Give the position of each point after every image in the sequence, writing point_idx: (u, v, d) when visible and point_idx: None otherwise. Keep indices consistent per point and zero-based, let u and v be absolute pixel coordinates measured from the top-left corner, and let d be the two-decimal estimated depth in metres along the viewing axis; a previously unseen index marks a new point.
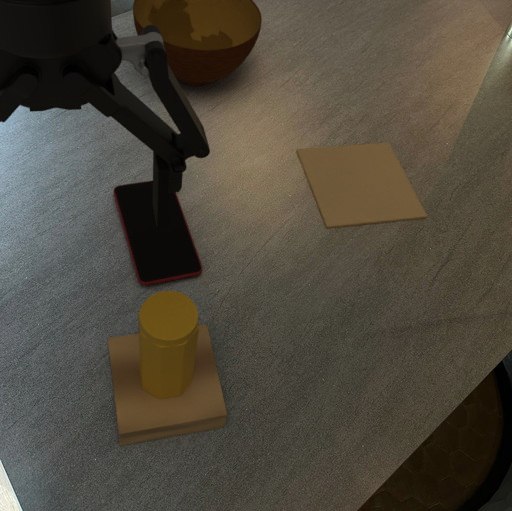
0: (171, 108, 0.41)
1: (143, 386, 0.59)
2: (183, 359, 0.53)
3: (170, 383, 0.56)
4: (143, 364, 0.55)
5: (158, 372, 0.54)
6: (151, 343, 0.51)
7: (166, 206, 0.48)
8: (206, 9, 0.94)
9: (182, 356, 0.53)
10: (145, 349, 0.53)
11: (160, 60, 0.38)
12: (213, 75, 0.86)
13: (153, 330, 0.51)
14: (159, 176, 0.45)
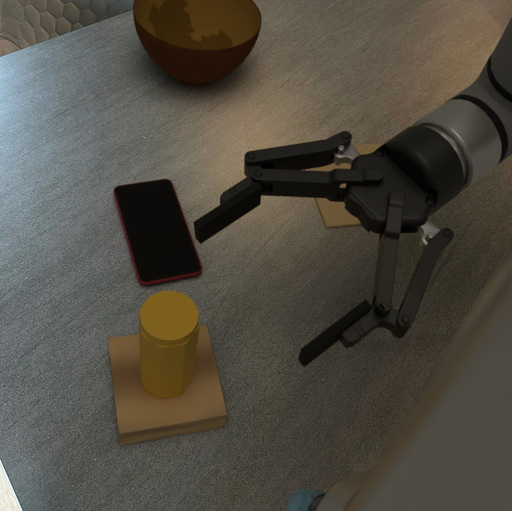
0: (421, 269, 0.50)
1: (143, 386, 0.59)
2: (183, 359, 0.53)
3: (170, 383, 0.56)
4: (143, 364, 0.55)
5: (159, 372, 0.54)
6: (151, 343, 0.51)
7: (333, 335, 0.47)
8: (206, 9, 0.94)
9: (182, 356, 0.53)
10: (145, 348, 0.53)
11: (446, 237, 0.51)
12: (213, 75, 0.86)
13: (154, 330, 0.51)
14: (360, 304, 0.48)
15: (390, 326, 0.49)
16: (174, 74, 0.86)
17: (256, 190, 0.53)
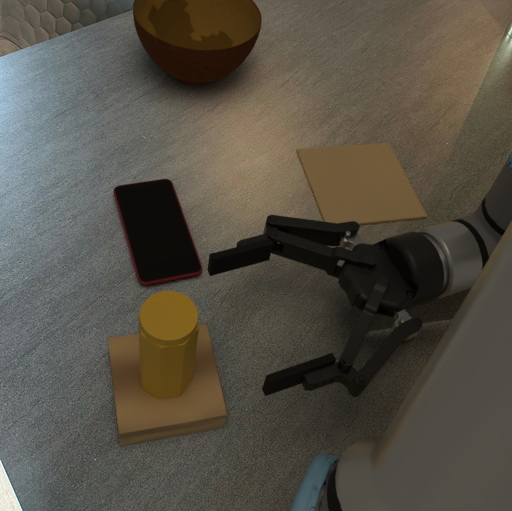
0: (386, 343, 0.57)
1: (143, 386, 0.59)
2: (183, 359, 0.53)
3: (170, 383, 0.56)
4: (143, 364, 0.55)
5: (158, 372, 0.54)
6: (151, 343, 0.51)
7: (296, 372, 0.54)
8: (206, 9, 0.94)
9: (182, 356, 0.53)
10: (145, 349, 0.53)
11: (415, 325, 0.59)
12: (213, 75, 0.86)
13: (153, 330, 0.51)
14: (326, 355, 0.55)
15: (347, 382, 0.55)
16: (174, 74, 0.86)
17: (268, 245, 0.62)
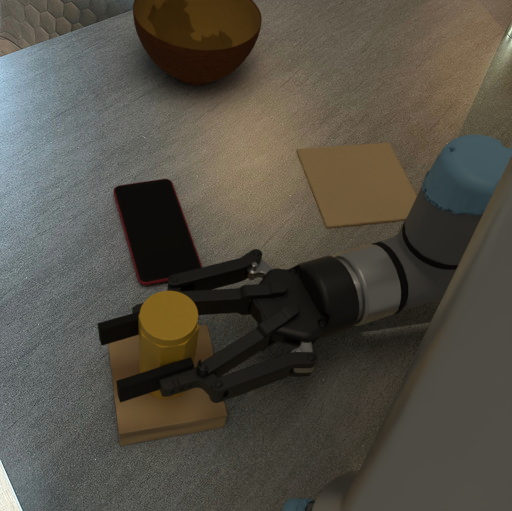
0: (266, 364, 0.54)
1: None
2: (183, 359, 0.53)
3: None
4: (143, 364, 0.55)
5: None
6: (151, 343, 0.51)
7: (149, 377, 0.52)
8: (206, 9, 0.94)
9: (182, 356, 0.53)
10: (145, 349, 0.53)
11: (308, 359, 0.55)
12: (213, 75, 0.86)
13: (153, 330, 0.51)
14: (184, 360, 0.53)
15: (206, 388, 0.53)
16: (174, 74, 0.86)
17: None
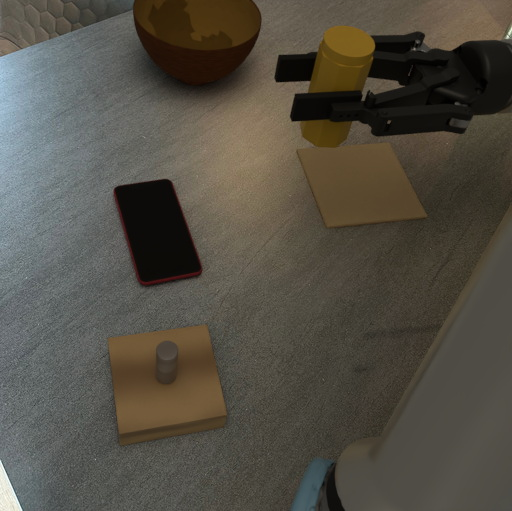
0: (427, 107, 0.59)
1: (304, 133, 0.64)
2: None
3: (332, 124, 0.62)
4: None
5: None
6: (331, 63, 0.57)
7: (323, 96, 0.58)
8: (206, 9, 0.94)
9: (354, 85, 0.58)
10: (321, 74, 0.58)
11: (466, 111, 0.59)
12: (213, 75, 0.86)
13: (336, 47, 0.56)
14: (354, 91, 0.59)
15: (371, 118, 0.59)
16: (174, 74, 0.86)
17: None
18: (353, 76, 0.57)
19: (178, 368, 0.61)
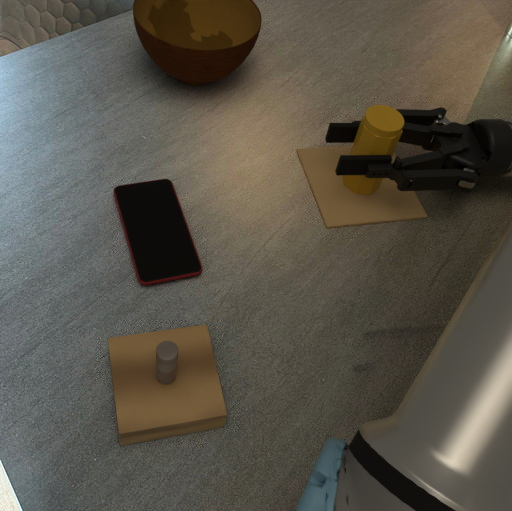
0: (442, 171, 0.77)
1: (345, 182, 0.83)
2: (385, 154, 0.77)
3: None
4: None
5: None
6: (369, 133, 0.75)
7: (362, 158, 0.76)
8: (206, 9, 0.94)
9: (386, 150, 0.76)
10: (362, 140, 0.77)
11: (472, 175, 0.77)
12: (213, 75, 0.86)
13: (374, 123, 0.74)
14: (386, 155, 0.77)
15: (397, 177, 0.77)
16: (174, 74, 0.86)
17: None
18: (386, 144, 0.76)
19: (178, 368, 0.61)
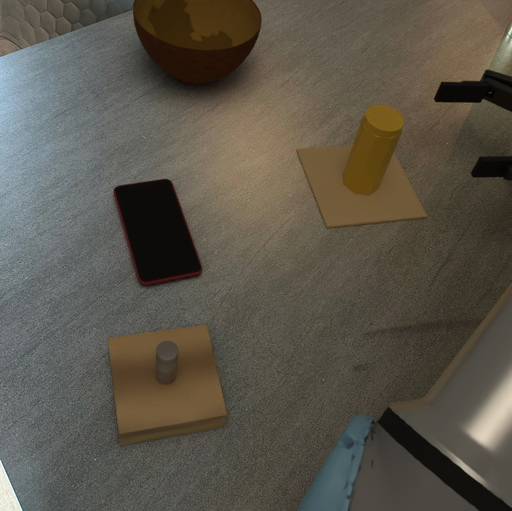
0: None
1: (345, 182, 0.83)
2: (385, 154, 0.77)
3: (368, 177, 0.80)
4: (354, 157, 0.79)
5: (365, 163, 0.78)
6: (369, 133, 0.75)
7: (502, 160, 0.72)
8: (206, 9, 0.94)
9: (386, 150, 0.76)
10: (362, 140, 0.77)
11: None
12: (213, 75, 0.86)
13: (374, 123, 0.74)
14: None
15: None
16: (174, 74, 0.86)
17: (485, 86, 0.81)
18: (386, 144, 0.76)
19: (178, 368, 0.61)
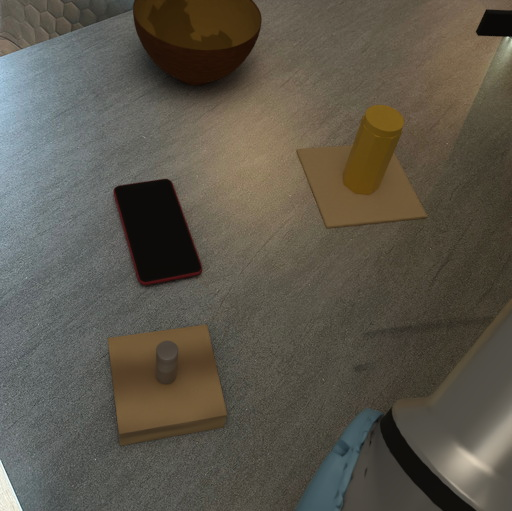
0: None
1: (345, 182, 0.83)
2: (385, 154, 0.77)
3: (368, 177, 0.80)
4: (354, 157, 0.79)
5: (365, 163, 0.78)
6: (369, 133, 0.75)
7: None
8: (206, 9, 0.94)
9: (386, 150, 0.76)
10: (362, 140, 0.77)
11: None
12: (213, 75, 0.86)
13: (374, 123, 0.74)
14: None
15: None
16: (174, 74, 0.86)
17: None
18: (386, 144, 0.76)
19: (178, 368, 0.61)
